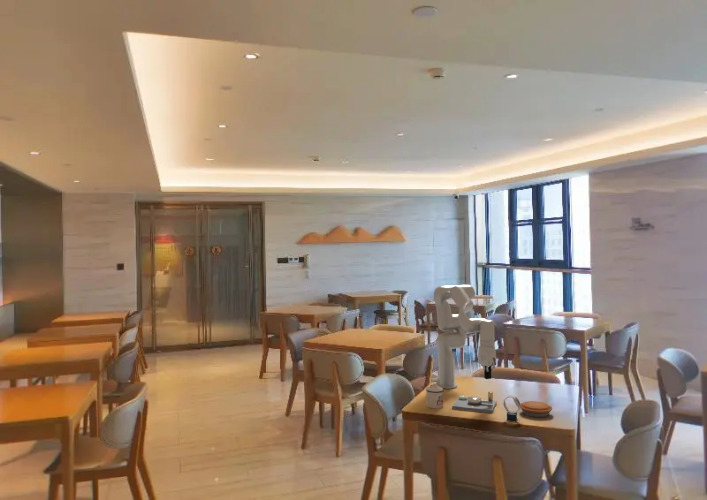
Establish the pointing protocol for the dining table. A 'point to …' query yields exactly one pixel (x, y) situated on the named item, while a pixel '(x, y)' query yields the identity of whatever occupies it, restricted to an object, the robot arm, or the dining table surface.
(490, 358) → the robot arm
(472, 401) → the footscrew knob
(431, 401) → the teacup with lid
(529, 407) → the pie
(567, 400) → the dining table surface
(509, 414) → the watch
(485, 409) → the base plate
